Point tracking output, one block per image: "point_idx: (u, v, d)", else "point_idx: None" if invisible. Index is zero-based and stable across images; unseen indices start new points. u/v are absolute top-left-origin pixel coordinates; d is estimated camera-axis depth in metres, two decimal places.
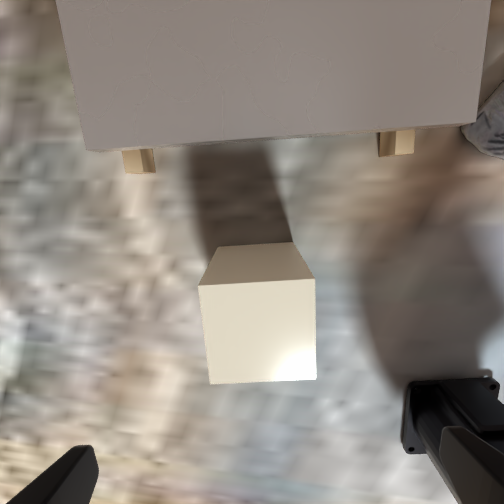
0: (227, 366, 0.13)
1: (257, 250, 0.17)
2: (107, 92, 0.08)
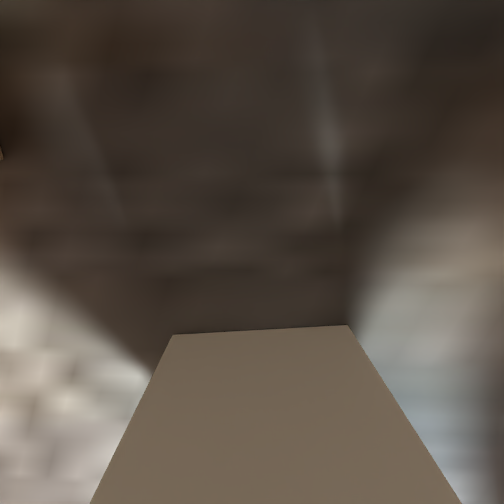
0: None
1: (266, 368, 0.06)
2: None
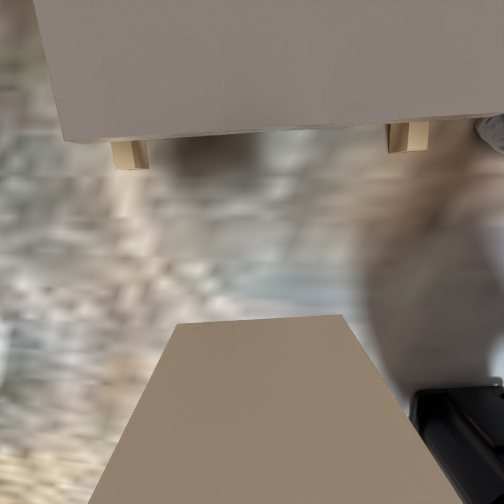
0: None
1: (265, 352, 0.07)
2: (87, 72, 0.07)
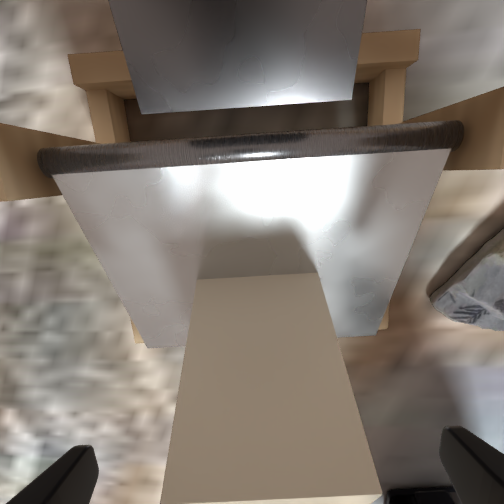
0: None
1: (262, 308, 0.10)
2: (158, 330, 0.14)
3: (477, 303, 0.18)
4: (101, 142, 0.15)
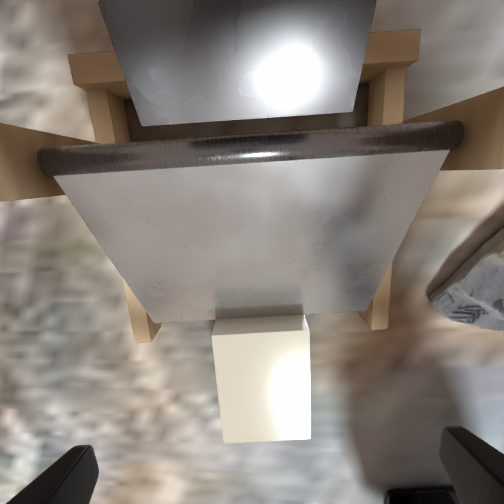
0: None
1: (264, 360, 0.15)
2: (163, 308, 0.15)
3: (476, 302, 0.18)
4: (101, 142, 0.15)
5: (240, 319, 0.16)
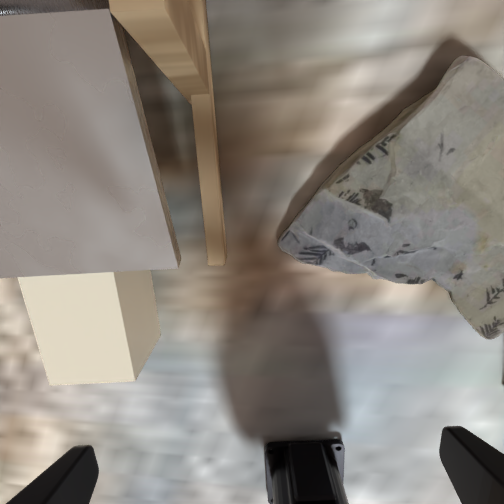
0: None
1: (73, 298, 0.15)
2: None
3: (320, 242, 0.18)
4: None
5: None
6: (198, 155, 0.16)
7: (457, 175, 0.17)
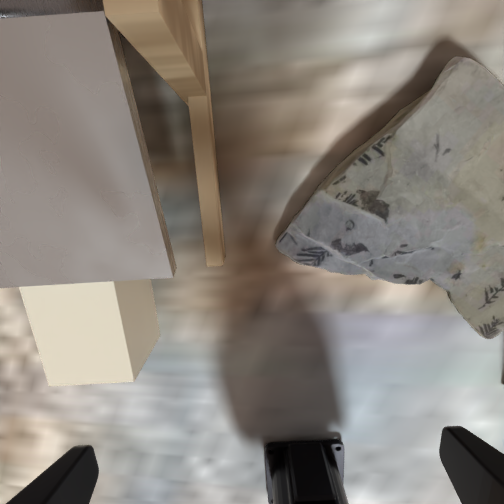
0: None
1: (72, 299, 0.15)
2: None
3: (318, 244, 0.18)
4: None
5: None
6: (196, 156, 0.16)
7: (453, 175, 0.17)
